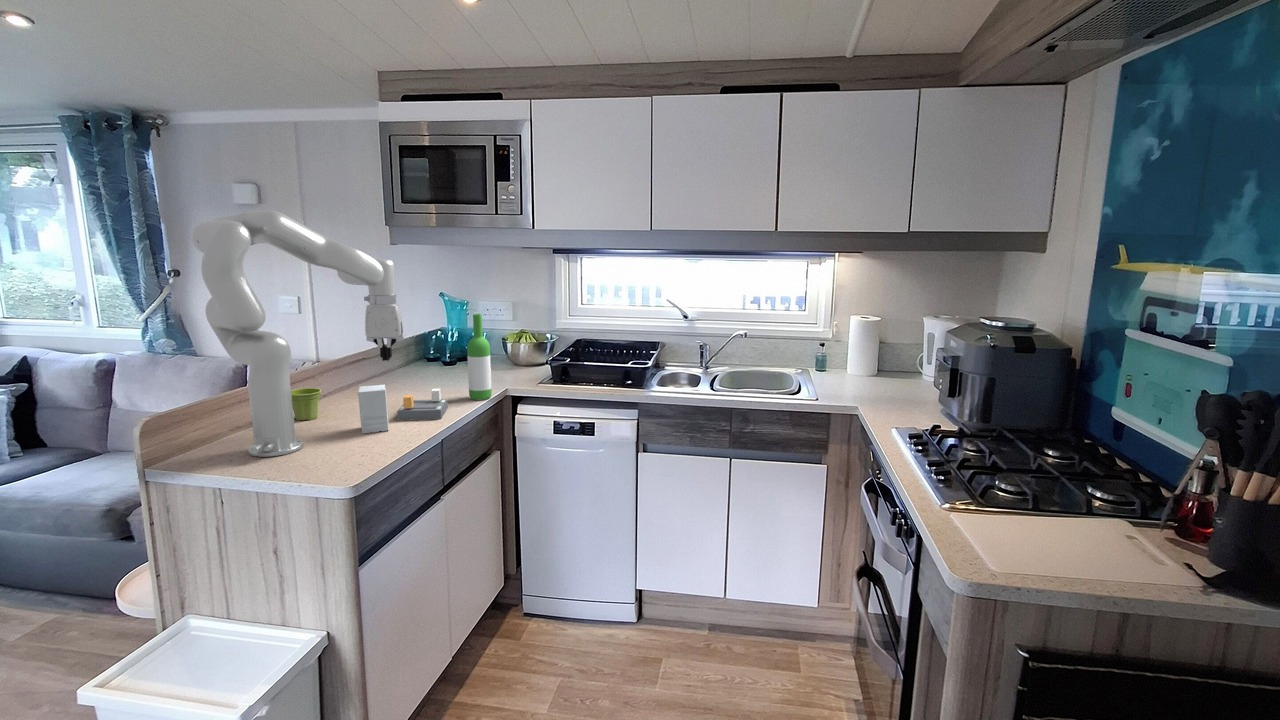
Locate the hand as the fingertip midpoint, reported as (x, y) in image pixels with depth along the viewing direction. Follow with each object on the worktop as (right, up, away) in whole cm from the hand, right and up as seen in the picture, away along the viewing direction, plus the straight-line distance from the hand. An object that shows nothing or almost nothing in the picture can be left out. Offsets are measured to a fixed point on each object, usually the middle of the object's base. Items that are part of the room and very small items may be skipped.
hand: (386, 359), depth 191 cm
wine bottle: (+21, -14, +30) cm, 39 cm away
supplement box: (0, -21, -7) cm, 22 cm away
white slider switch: (+11, -13, +13) cm, 21 cm away
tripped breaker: (+5, -15, +4) cm, 16 cm away
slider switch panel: (+8, -18, +9) cm, 21 cm away
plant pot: (-26, -18, +3) cm, 32 cm away
